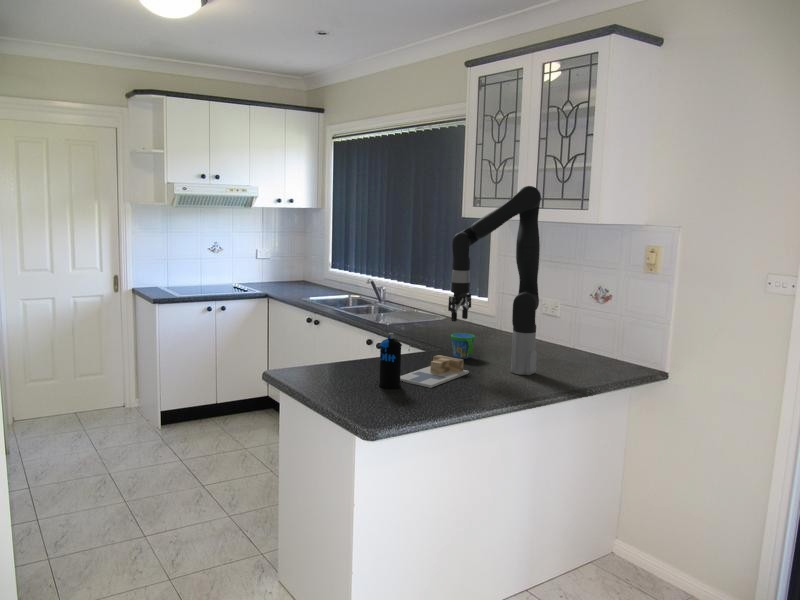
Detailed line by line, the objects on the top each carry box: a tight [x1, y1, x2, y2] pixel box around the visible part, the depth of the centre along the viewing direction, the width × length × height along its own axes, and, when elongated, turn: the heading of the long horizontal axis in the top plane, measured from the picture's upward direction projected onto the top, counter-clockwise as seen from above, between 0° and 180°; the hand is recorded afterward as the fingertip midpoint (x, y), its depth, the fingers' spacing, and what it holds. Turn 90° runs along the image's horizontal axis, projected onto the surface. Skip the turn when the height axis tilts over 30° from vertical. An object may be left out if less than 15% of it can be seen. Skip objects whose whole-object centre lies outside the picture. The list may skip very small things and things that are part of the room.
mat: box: [400, 365, 470, 389], centre depth 261 cm, size 16×28×1 cm, turn 144°
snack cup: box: [450, 332, 476, 360], centre depth 294 cm, size 16×10×10 cm
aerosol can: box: [378, 332, 403, 390], centre depth 244 cm, size 8×8×20 cm
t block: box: [430, 354, 465, 374], centre depth 266 cm, size 12×12×4 cm
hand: (459, 319), depth 274 cm, fingers open, 8 cm apart
